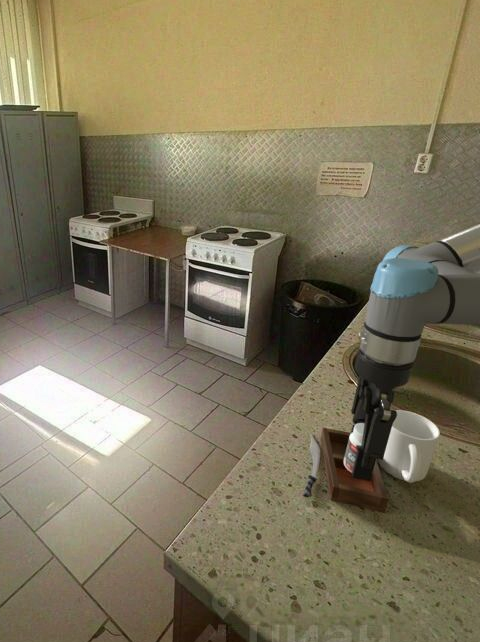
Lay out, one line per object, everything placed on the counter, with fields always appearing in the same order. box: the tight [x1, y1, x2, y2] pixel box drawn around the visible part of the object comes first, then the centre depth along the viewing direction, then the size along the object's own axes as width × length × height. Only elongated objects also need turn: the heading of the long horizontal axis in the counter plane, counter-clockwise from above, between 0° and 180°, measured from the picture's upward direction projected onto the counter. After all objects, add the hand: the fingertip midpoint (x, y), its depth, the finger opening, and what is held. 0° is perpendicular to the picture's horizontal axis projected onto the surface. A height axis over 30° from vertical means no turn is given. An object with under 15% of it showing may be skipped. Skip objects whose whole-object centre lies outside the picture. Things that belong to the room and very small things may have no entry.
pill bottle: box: [344, 423, 378, 474], centre depth 70 cm, size 5×5×8 cm
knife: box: [301, 432, 321, 498], centre depth 79 cm, size 19×2×1 cm, turn 152°
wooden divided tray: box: [319, 427, 390, 514], centre depth 76 cm, size 8×16×3 cm, turn 161°
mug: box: [376, 409, 441, 484], centre depth 74 cm, size 12×8×10 cm
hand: (357, 465), depth 71 cm, fingers closed on pill bottle, 5 cm apart
